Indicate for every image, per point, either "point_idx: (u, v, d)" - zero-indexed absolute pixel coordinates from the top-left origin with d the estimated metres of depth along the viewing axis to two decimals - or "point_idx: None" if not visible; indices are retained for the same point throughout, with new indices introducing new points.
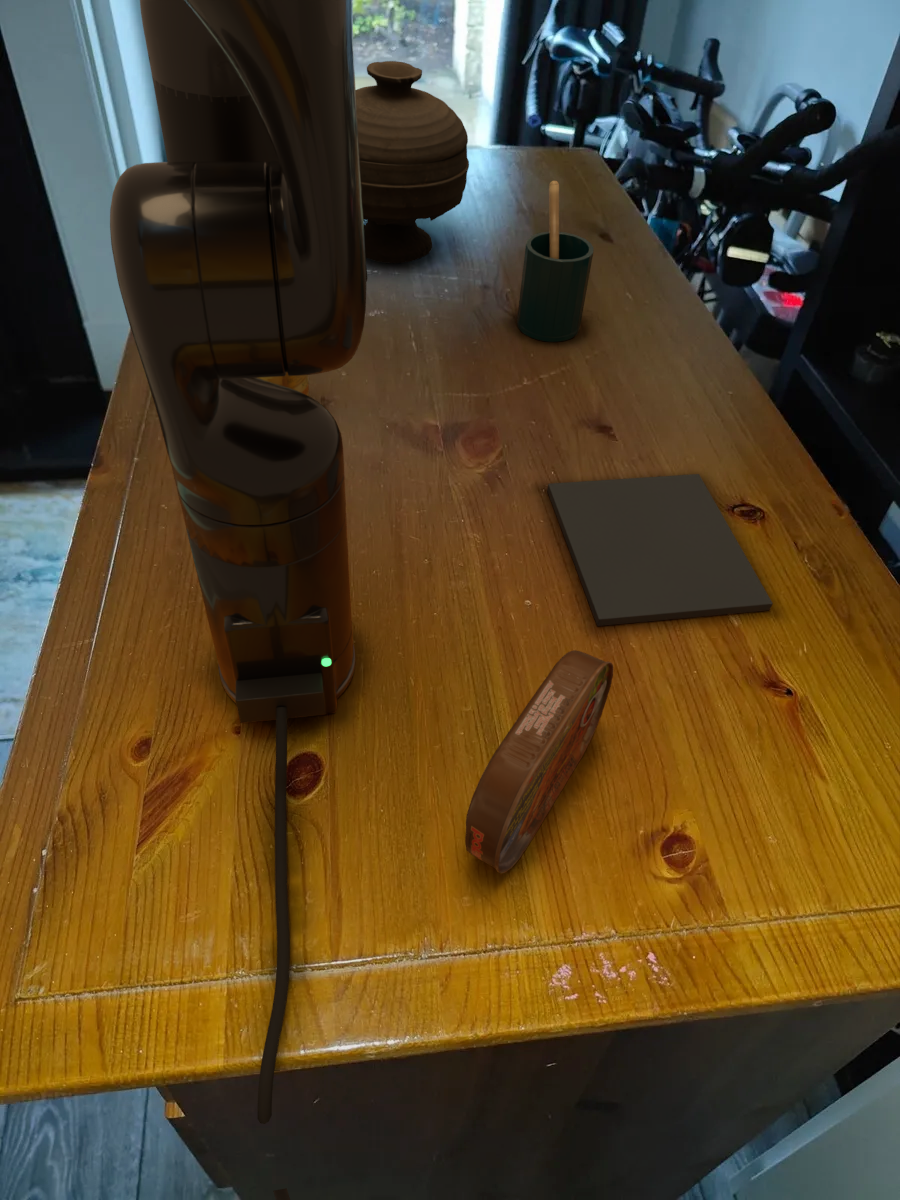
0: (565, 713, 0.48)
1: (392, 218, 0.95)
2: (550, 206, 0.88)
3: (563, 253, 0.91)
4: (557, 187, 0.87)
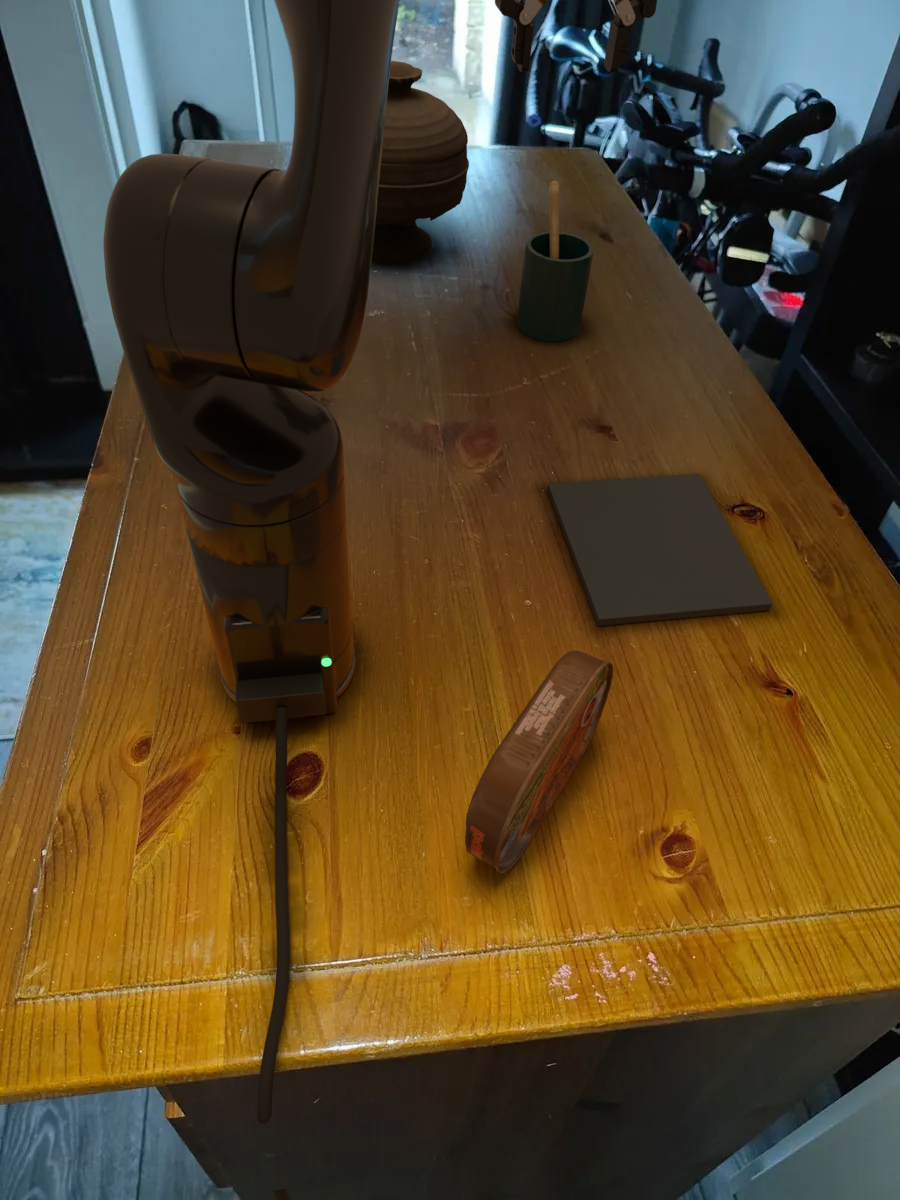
0: (565, 713, 0.48)
1: (392, 218, 0.95)
2: (550, 206, 0.88)
3: (563, 253, 0.91)
4: (557, 187, 0.87)
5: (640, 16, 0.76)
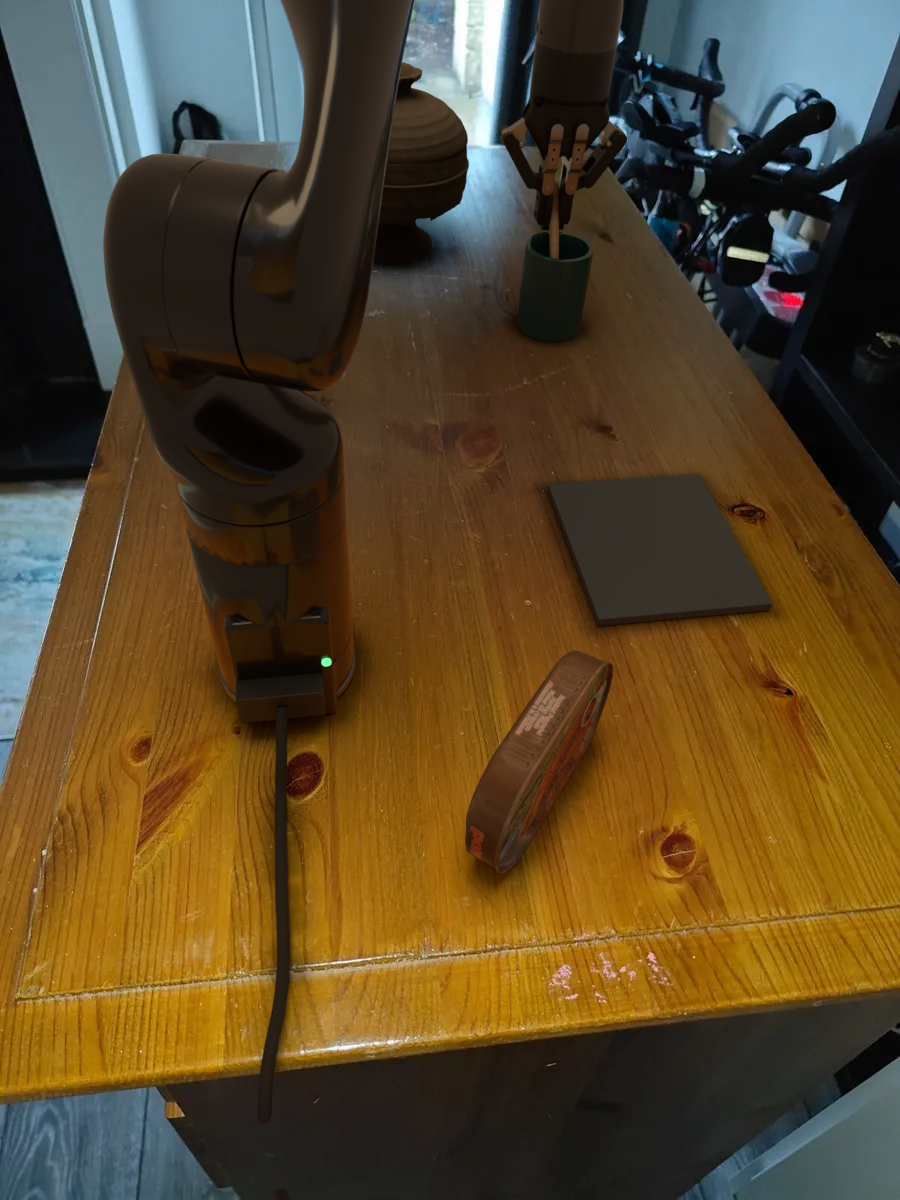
0: (565, 713, 0.48)
1: (392, 218, 0.95)
2: None
3: (563, 253, 0.91)
4: (557, 187, 0.87)
5: (581, 186, 0.87)
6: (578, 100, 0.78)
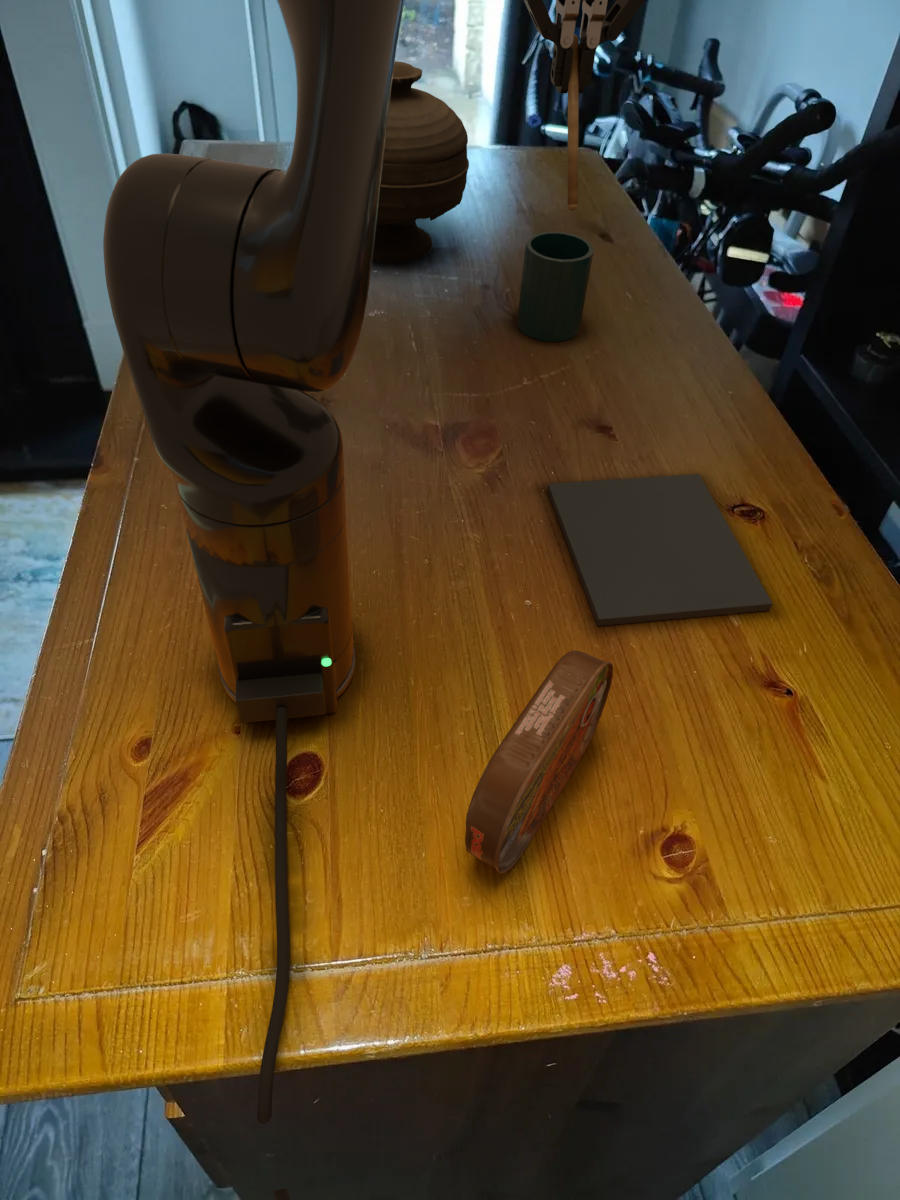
0: (565, 713, 0.48)
1: (392, 218, 0.95)
2: None
3: (563, 253, 0.91)
4: (577, 42, 0.78)
5: (604, 39, 0.77)
6: None
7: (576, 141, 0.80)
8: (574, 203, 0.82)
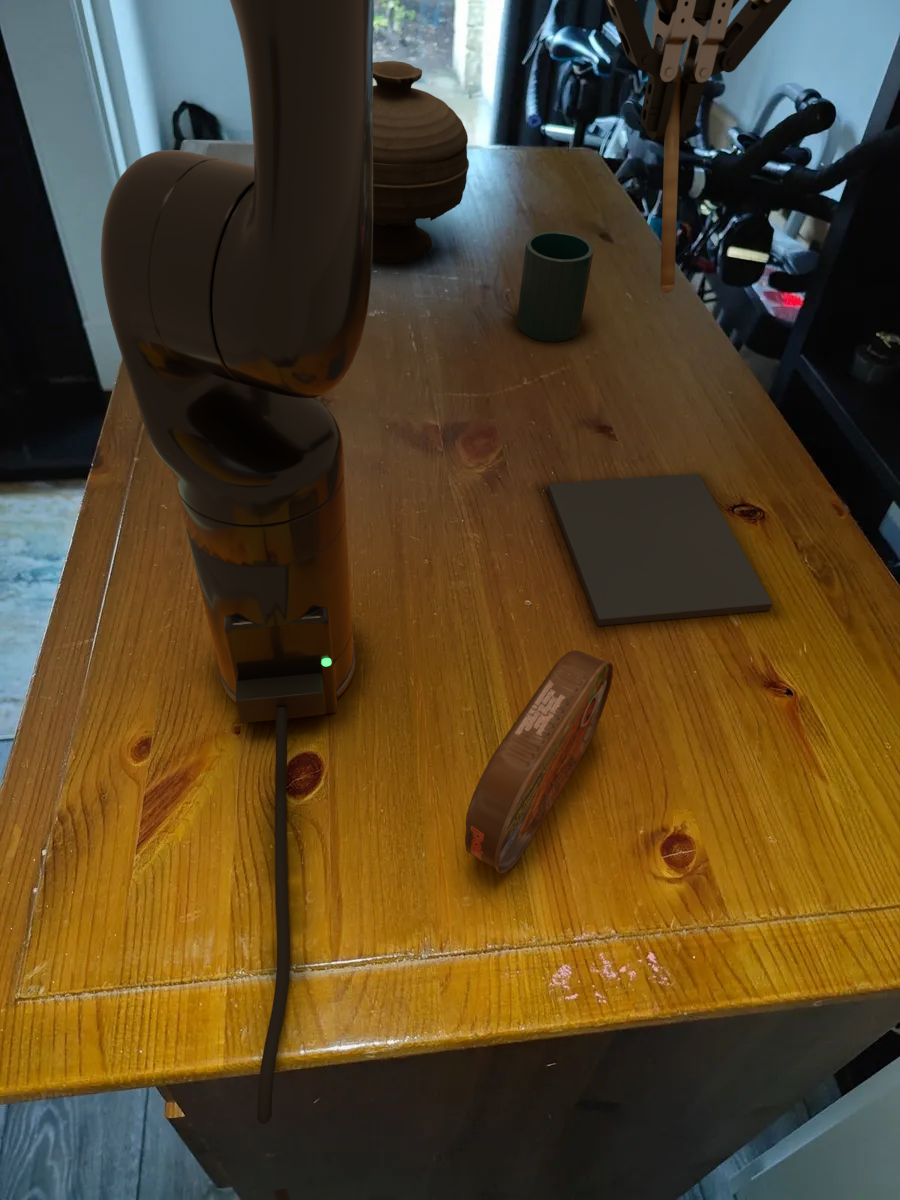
0: (565, 713, 0.48)
1: (392, 218, 0.95)
2: None
3: (563, 253, 0.91)
4: (679, 72, 0.58)
5: (717, 69, 0.57)
6: None
7: (675, 203, 0.60)
8: (670, 283, 0.62)
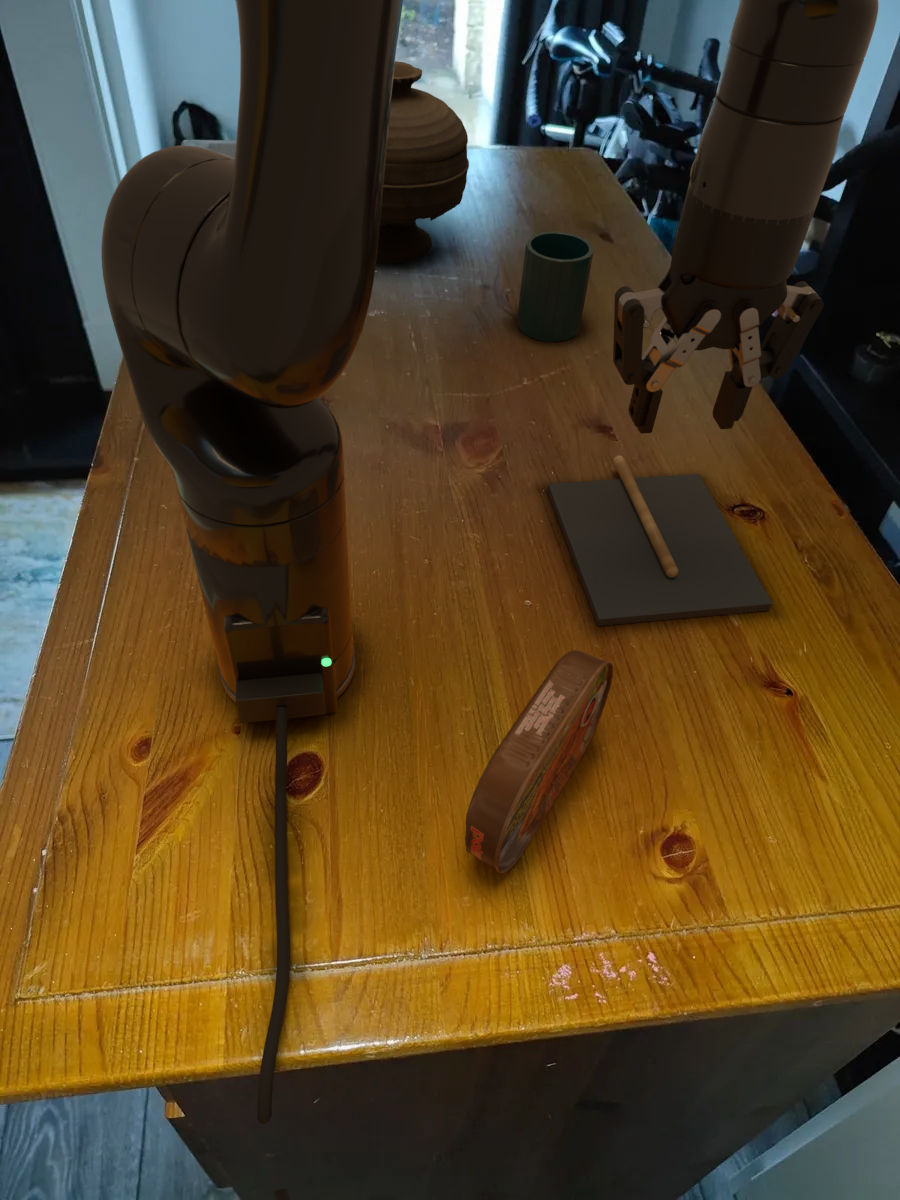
0: (565, 713, 0.48)
1: (392, 218, 0.95)
2: (621, 474, 0.74)
3: (563, 253, 0.91)
4: (623, 459, 0.75)
5: (765, 374, 0.59)
6: (754, 283, 0.50)
7: (652, 520, 0.70)
8: (672, 565, 0.66)
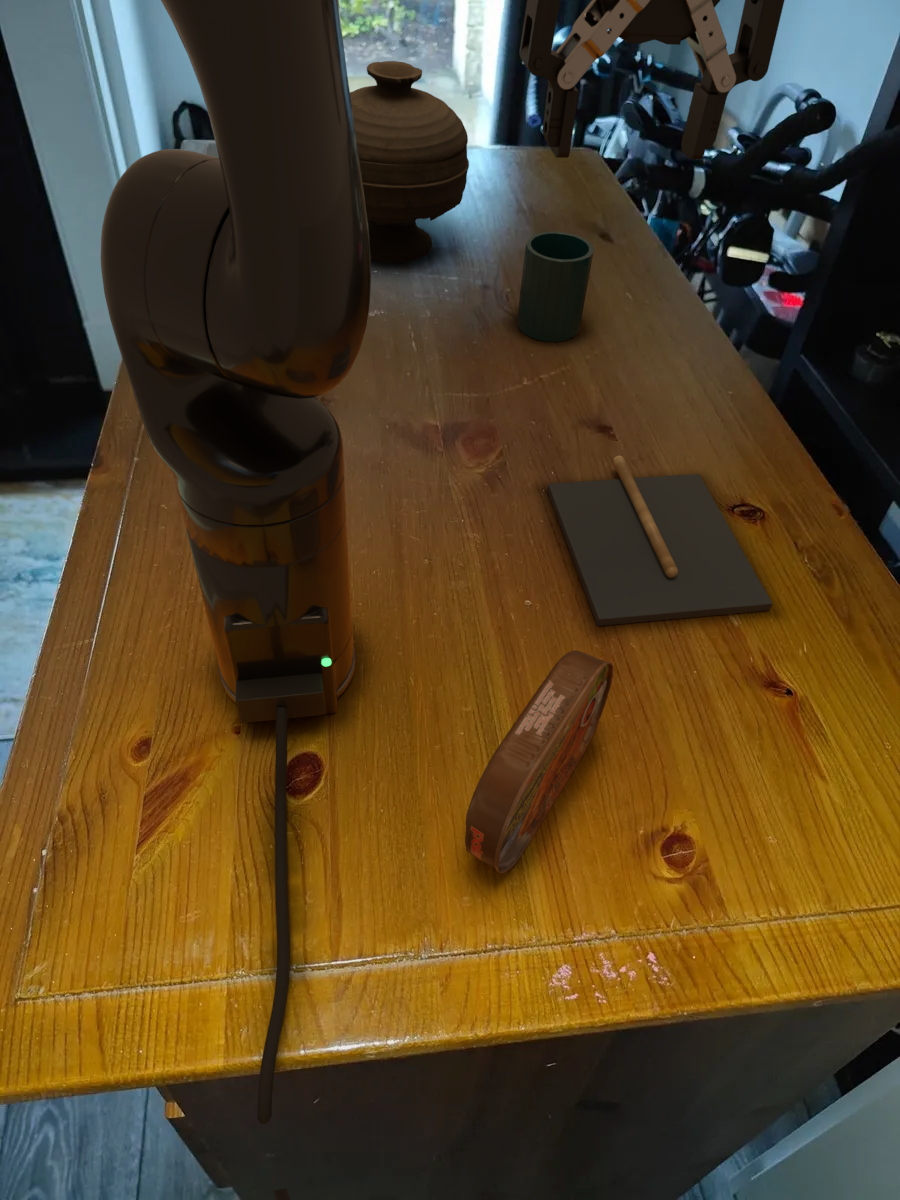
0: (565, 713, 0.48)
1: (392, 218, 0.95)
2: (620, 474, 0.74)
3: (563, 253, 0.91)
4: (622, 458, 0.75)
5: (742, 78, 0.49)
6: None
7: (652, 520, 0.70)
8: (672, 566, 0.66)
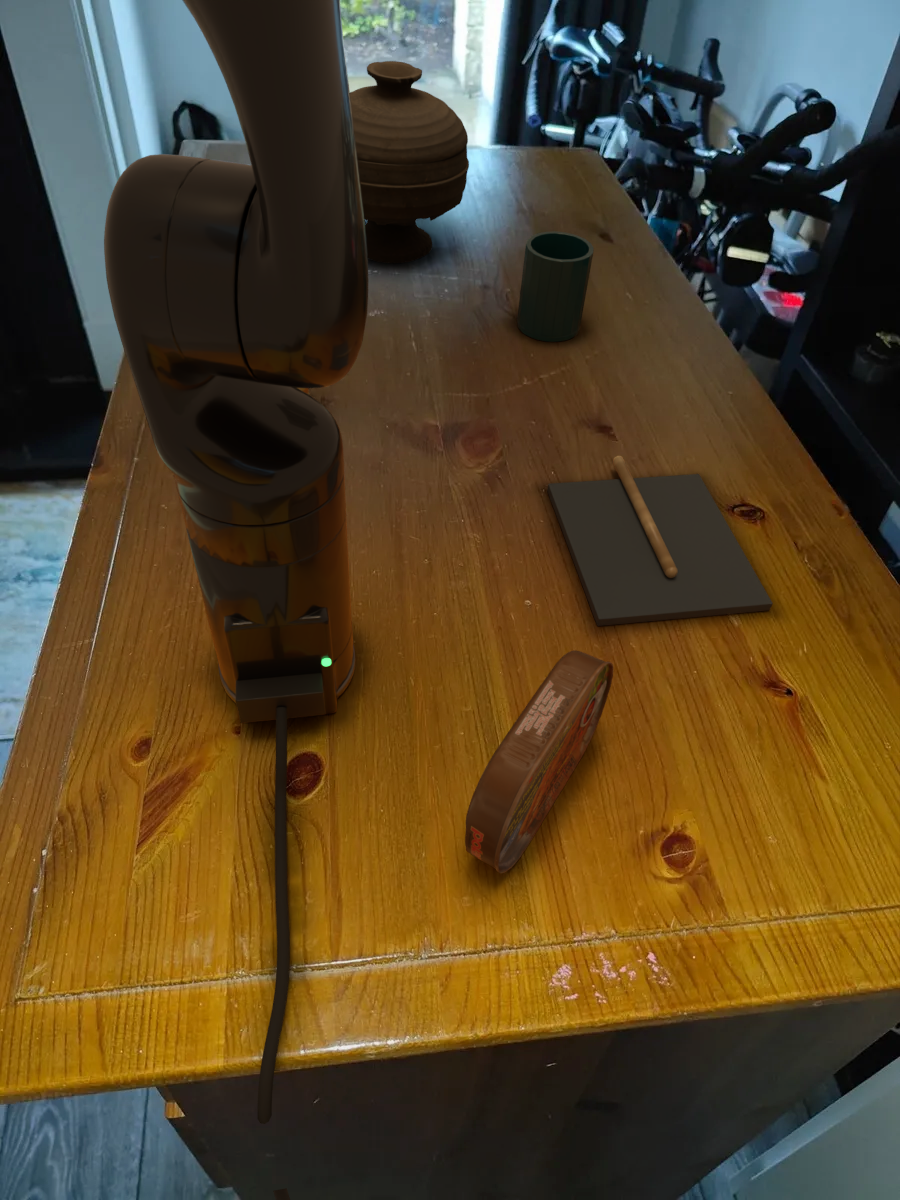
0: (565, 713, 0.48)
1: (392, 218, 0.95)
2: (620, 474, 0.74)
3: (563, 253, 0.91)
4: (622, 458, 0.75)
5: None
6: None
7: (651, 520, 0.70)
8: (671, 566, 0.66)
